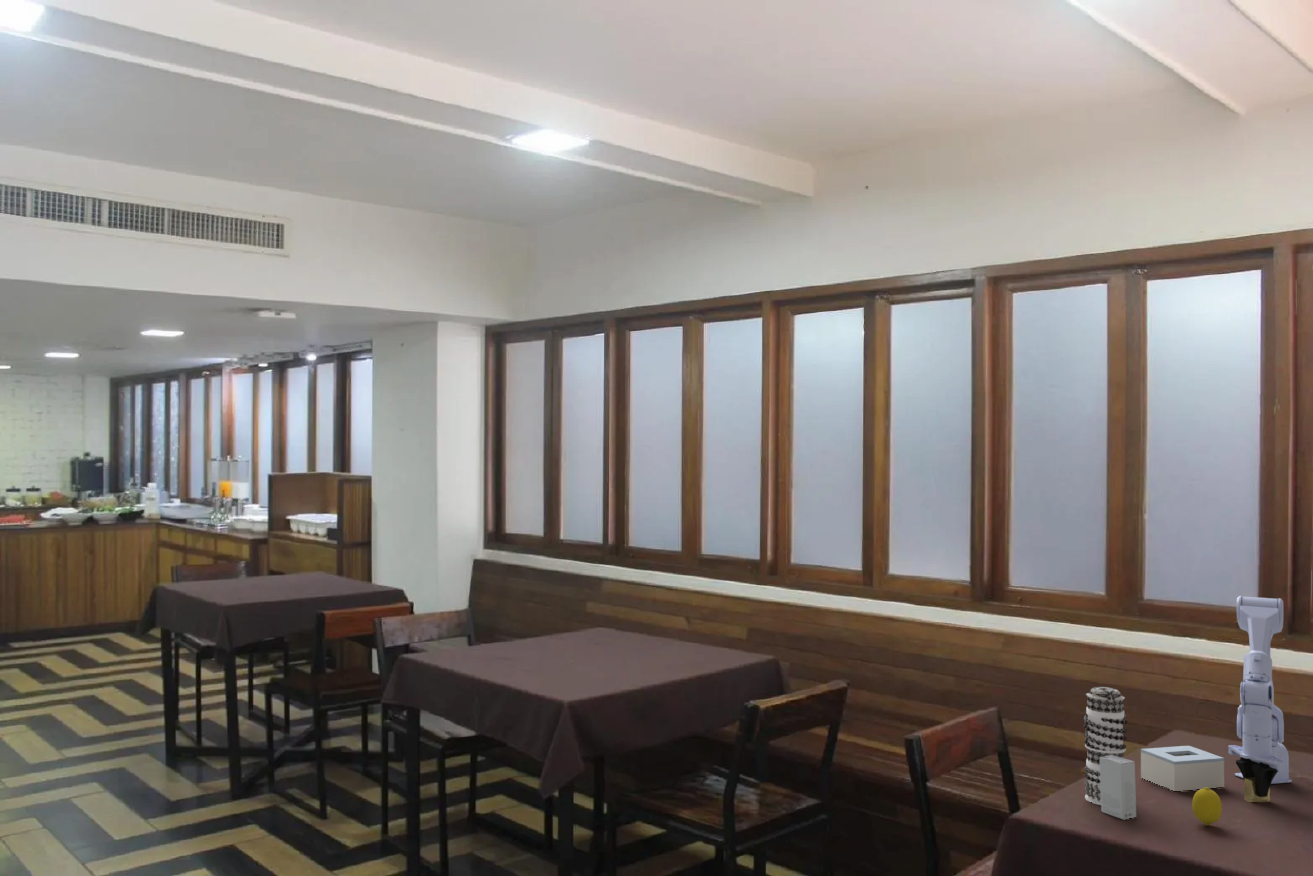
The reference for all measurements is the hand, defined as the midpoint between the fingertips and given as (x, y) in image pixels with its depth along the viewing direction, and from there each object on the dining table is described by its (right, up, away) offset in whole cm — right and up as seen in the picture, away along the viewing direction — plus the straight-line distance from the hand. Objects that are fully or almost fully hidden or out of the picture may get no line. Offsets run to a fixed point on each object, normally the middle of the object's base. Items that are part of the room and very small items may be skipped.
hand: (1257, 794), depth 235 cm
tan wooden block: (0, -2, 0) cm, 2 cm away
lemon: (-20, -1, -17) cm, 26 cm away
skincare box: (-36, -1, -11) cm, 38 cm away
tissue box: (-11, -2, +13) cm, 17 cm away
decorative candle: (-35, -1, -1) cm, 35 cm away
